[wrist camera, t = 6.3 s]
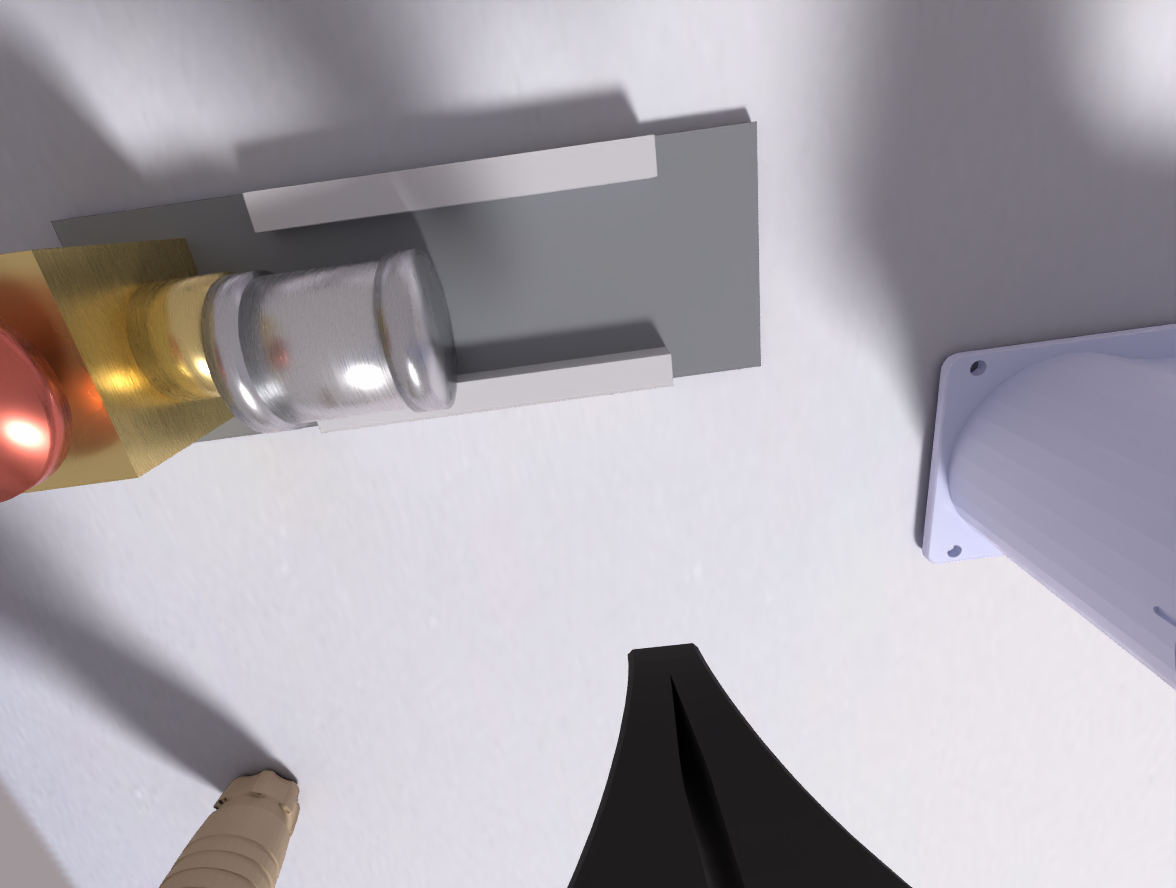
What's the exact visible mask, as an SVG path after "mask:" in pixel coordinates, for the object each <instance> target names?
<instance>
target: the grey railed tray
mask: <svg viewBox="0 0 1176 888" xmlns="http://www.w3.org/2000/svg"><path fill="white" fill-rule="evenodd" d="M51 222H52V224H53V227H54V229H55V231H56V233H57V236H58V238H59V240H60V242H61V244H62V247H75V246H88V245H100V244H113V243H125V242H138V241H150V240H163V239H176V238H185V239H186V241H187V244H188V247H189V249H190V252H191V255H192V258H193V260H194V263H195V266H196V268H197V271H198V274H199V275H205V274H213V273H220V272H228V271H231V272H236V273H242V272H249V271H257V270H266V271H269V272H272V273H274V274H279V273H287V272H294V271H301V270H308V269H316V268H323V267H330V266H337V265H345V264H352V263H359V262H366V261H374V260H380V258H381V257H382V255H383V254H385V253H387V252H394V251H401V250H409V249H416V248H420V249H422V250H423V251H425V253H426V254H427V255H428V256H429V258H430V259H431V261H432V263H433V265H434V267H435V269H436V272H437V274H438V276H439V279H440V282H441V285H442V288H443V291H444V294H445V298H446V301H447V305H448V309H449V313H450V318H451V322H452V328H453V333H454V340H455V347H456V357H457V392H456V398H455V401H454V404H453V406H452V407H451V408H450V409H445V410H438V411H430V412H423V413H416V412H414V411H412V410H411V409H404V410H396V411H389V412H381V413H374V414H366V415H359V416H351V417H344V418H337V419H329V420H322V421H314V422H310V424H308V425H307V426H306V427H313V426H319V429H320V432H321V433H327V432H335V431H342V430H349V429H357V428H364V427H372V426H379V425H386V424H394V423H401V422H409V421H416V420H423V419H431V418H438V417H446V416H453V415H461V414H468V413H475V412H483V411H490V410H498V409H505V408H512V407H520V406H527V405H535V404H542V403H549V402H557V401H564V400H572V399H579V398H587V397H594V396H601V395H609V394H616V393H624V392H631V391H638V390H646V389H653V388H661V387H668V386H673V378H675V377H683V376H690V375H698V374H705V373H712V372H720V371H727V370H735V369H742V368H749V367H757V366H761V354H760V294H759V235H758V176H757V121H756V122H749V123H742V124H735V125H728V126H721V127H713V128H706V129H699V130H692V131H685V132H678V133H671V134H664V135H657V136H654V135H647V136H640V137H633V138H626V139H619V140H612V141H605V142H598V143H590V144H583V145H576V146H569V147H562V148H555V149H548V150H541V151H534V152H527V153H520V154H513V155H506V156H499V157H492V158H485V159H478V160H471V161H463V162H456V163H449V164H442V165H435V166H428V167H421V168H414V169H407V170H400V171H393V172H386V173H379V174H372V175H365V176H358V177H351V178H343V179H336V180H329V181H322V182H315V183H308V184H301V185H294V186H287V187H280V188H273V189H266V190H259V191H252V192H245V193H242V194H241V195H233V196H226V197H219V198H212V199H205V200H198V201H191V202H184V203H177V204H170V205H163V206H156V207H149V208H142V209H135V210H128V211H121V212H113V213H106V214H99V215H92V216H85V217H78V218H71V219H64V220H57V221H51ZM304 428H305V427H304ZM254 434H261V433H260V432H257V431H254V430H252V429H250V428H248V427H247V426H246V425H244V424H243V423H242V422H240V421H239V420H238V419H237V418H236V417H233V418H232V419H230V420H229V421H227V422H225V423H224V424H222V425H221V426H219V427H218V428H216V429H214V430H213V431H211V432H210V433H208V434H206V435H205V436H203V437H202V438H200V439H199V440H197V441H195V442H202V441H209V440H217V439H224V438H231V437H239V436H246V435H254Z"/></svg>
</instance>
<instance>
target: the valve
mask: <svg viewBox="0 0 1176 888" xmlns="http://www.w3.org/2000/svg"><path fill="white" fill-rule="evenodd" d="M235 273H236V272H231V271H228V272H220V273H213V274H205V275H199V274H198V271H197V268H196V266H195V263H194V260H193V258H192V255H191V252H190V249H189V247H188V244H187V241H186V239H185V238H176V239H163V240H150V241H138V242H125V243H113V244H100V245H88V246H75V247H62V248H50V249H37V250H28V251H21V252H13V253H6V254H0V503H1V502H4V501H6V500H9V499H11V498H13V497H15V496H17V495H19V494H21V493H28V492H35V491H43V490H50V489H58V488H65V487H73V486H80V485H88V484H95V483H102V482H110V481H117V480H125V479H132V478H138V477H140V476H142V475H143V474H145V473H146V472H148V471H150V470H151V469H153V468H154V467H156V466H157V465H159V464H161V463H162V462H164V461H165V460H167V459H169V458H170V457H172V456H173V455H175V454H176V453H178V452H180V451H181V450H183V449H184V448H186V447H187V446H189V445H191V444H192V443H194V442H195V441H197V440H199V439H200V438H202V437H203V436H205V435H206V434H208V433H210V432H211V431H213V430H214V429H216V428H218V427H219V426H221V425H222V424H224V423H225V422H227V421H229V420H230V419H232V418H233V417H235V416H234V415H233V413H232V412H231V411H230V410H229V409H228V407H227V406H226V404H225V403H224V401H223V400H222V398H221V396H220V395H219V393H218V391H217V389H216V387H215V385H214V383H213V380H212V378H211V375H210V372H209V370H208V366H207V363H206V359H205V355H204V350H203V345H202V337H201V313H202V307H203V302H204V299H205V296H206V293H207V291H208V290H209V288H210V286H211V285H212V284H213V282H214V281H215V280H217V279H218V278H219V277H221V276H224V275H228V274H235Z"/></svg>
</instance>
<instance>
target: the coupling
mask: <svg viewBox="0 0 1176 888" xmlns="http://www.w3.org/2000/svg"><path fill="white" fill-rule="evenodd" d="M201 337H202V345H203V350H204V355H205V359H206V363H207V366H208V370H209V372H210V375H211V378H212V380H213V383H214V385H215V387H216V389H217V391H218V393H219V395H220V396H221V398H222V400H223V401H224V403H225V404H226V406H227V407H228V409H229V410H230V411H231V412H232V413H233V415H234V416H235V417H236V418H237V419H238V420H239V421H240V422H242V423H243V424H244V425H246V426H247V427H248V428H250V429H252V430H254V431H257V432H260V433H273V432H281V431H288V430H296V429H301V428H304V427H306V426H307V425H308V424H310V422H314V421H322V420H329V419H337V418H344V417H351V416H359V415H366V414H374V413H381V412H389V411H396V410H404V409H411V410H412V411H414V412H416V413H423V412H430V411H438V410H445V409H450V408H451V407H452V406H453V404H454V401H455V398H456V392H457V357H456V347H455V340H454V333H453V328H452V322H451V318H450V313H449V309H448V305H447V301H446V298H445V294H444V291H443V288H442V285H441V282H440V279H439V276H438V274H437V272H436V269H435V267H434V265H433V263H432V261H431V259H430V258H429V256H428V255H427V254H426V253H425V251H423V250H422V249H420V248H416V249H409V250H401V251H394V252H387V253H385V254H383V255H382V257H381V258H380V260H374V261H366V262H359V263H352V264H345V265H337V266H330V267H323V268H316V269H308V270H301V271H294V272H287V273H279V274H274V273H272V272H269V271H266V270H257V271H249V272H242V273H235V274H228V275H224V276H221V277H219V278H218V279H217V280H215V281H214V282H213V284H212V285H211V286H210V288H209V290H208V291H207V293H206V296H205V299H204V302H203V307H202V313H201Z"/></svg>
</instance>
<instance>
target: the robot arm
mask: <svg viewBox="0 0 1176 888" xmlns="http://www.w3.org/2000/svg"><path fill="white" fill-rule="evenodd" d="M976 361H978V367H977V369H976V370H975V371H974V372H971V373H970V368H971V366H972V364H973V363H974V362H976ZM952 546H954V548H953V549H952V550H951V551H948V550H949V548H951V547H952ZM922 552H923V555H924V556H925V557H926V558H927V559H928V560H929V561H930V562H932V563H934V564H941V563H949V562H957V561H964V560H972V559H980V558H988V557H995V556H1003V555H1005V556H1007V557H1008V558H1009V559H1010V560H1012V561H1013V562H1014V563H1016V564H1017V565H1018V566H1019V567H1021V568H1022V569H1023V570H1024V571H1026V572H1027V573H1028V574H1029V575H1031V576H1032V577H1033V578H1035V579H1036V580H1037V581H1038V582H1040V583H1041V584H1042V585H1043V586H1045V587H1046V588H1047V589H1048V590H1050V591H1051V592H1052V593H1053V594H1055V595H1056V596H1057V597H1059V598H1060V599H1061V600H1062V601H1064V602H1065V603H1066V604H1067V605H1069V606H1070V607H1071V608H1072V609H1074V610H1075V611H1076V612H1078V613H1079V614H1080V615H1081V616H1083V617H1084V618H1085V619H1086V620H1088V621H1089V622H1090V623H1091V624H1093V625H1094V626H1095V627H1096V628H1098V629H1099V630H1100V631H1102V632H1103V633H1104V634H1105V635H1107V636H1108V637H1109V638H1110V639H1112V640H1113V641H1114V642H1115V643H1117V644H1118V645H1119V646H1120V647H1122V648H1123V649H1124V650H1126V651H1127V652H1128V653H1129V654H1131V655H1132V656H1133V657H1134V658H1136V659H1137V660H1138V661H1139V662H1141V663H1142V664H1143V665H1145V666H1146V667H1147V668H1148V669H1150V670H1151V671H1152V672H1153V673H1155V674H1156V675H1157V676H1158V677H1160V678H1161V679H1162V680H1163V681H1165V682H1166V683H1167V684H1169V685H1170V686H1171V687H1172V688H1174V689H1175V690H1176V324H1168V325H1161V326H1153V327H1146V328H1138V329H1131V330H1124V331H1116V332H1109V333H1101V334H1094V335H1086V336H1079V337H1072V338H1064V339H1057V340H1049V341H1042V342H1035V343H1027V344H1020V345H1012V346H1005V347H997V348H990V349H983V350H975V351H968V352H960V353H956V354H953V355H951V356H949V357H948V358H947V359H946V360H945V361H944V363H943V365H942V368H941V374H940V384H939V393H938V403H937V413H936V422H935V432H934V441H933V451H932V461H931V470H930V480H929V489H928V499H927V508H926V518H925V528H924V537H923V547H922ZM628 663H629V670H628V687H627V695H626V702H625V708H624V713H623V718H622V724H621V729H620V734H619V738H618V743H617V747H616V750H615V754H614V758H613V762H612V765H611V769H610V773H609V777H608V780H607V783H606V787H605V790H604V793H603V796H602V799H601V802H600V805H599V808H598V811H597V814H596V817H595V820H594V823H593V825H592V828H591V831H590V834H589V836H588V839H587V841H586V844H585V846H584V849H583V851H582V854H581V856H580V859H579V861H578V864H577V866H576V869H575V871H574V874H573V876H572V878H571V881H570V883H569V885H568V887H567V888H912V887H911V886H909V885H908V884H907V883H906V882H905V881H903V880H902V879H901V878H900V877H899V876H898V875H897V874H895V873H894V872H893V871H892V870H891V869H890V868H889V867H887V866H886V865H885V864H884V863H883V862H882V861H881V860H879V859H878V858H877V857H876V856H875V855H874V854H873V853H871V852H870V851H869V850H868V849H867V848H866V847H865V846H863V845H862V844H861V843H860V842H859V841H858V840H857V839H855V838H854V837H853V836H852V835H851V834H850V833H849V832H848V831H847V830H846V829H845V828H844V827H843V826H842V825H841V824H840V823H839V822H838V821H836V820H835V819H834V818H833V817H832V816H831V815H830V814H829V813H828V812H827V811H826V810H825V809H824V808H823V807H822V806H821V805H820V804H819V803H818V802H817V801H816V800H815V799H814V798H813V797H812V796H811V795H810V794H809V793H808V792H807V791H806V789H805V788H804V787H803V786H802V785H801V784H800V783H799V782H798V781H797V780H796V779H795V778H794V777H793V775H792V774H791V773H790V772H789V771H788V770H787V769H786V768H785V767H784V765H783V764H782V763H781V762H780V761H779V760H778V758H777V757H776V756H775V755H774V754H773V753H772V751H771V750H770V749H769V748H768V747H767V746H766V744H765V743H764V742H763V741H762V740H761V738H760V737H759V736H758V735H757V733H756V732H755V731H754V730H753V728H752V727H751V726H750V724H749V723H748V722H747V720H746V719H745V718H744V717H743V715H742V714H741V713H740V711H739V710H738V709H737V707H736V706H735V705H734V703H733V702H732V701H731V699H730V698H729V696H728V695H727V694H726V692H725V691H724V689H723V688H722V686H721V685H720V683H719V682H718V680H717V679H716V677H715V676H714V674H713V673H712V671H711V670H710V668H709V666H708V665H707V663H706V661H705V660H704V658H703V656H702V654H701V652H700V651H699V649H698V647H697V646H695V645H694V644H693V643H689V644H680V645H671V646H661V647H652V648H643V649H634V650H632V651H631V652H630V653H629V654H628Z"/></svg>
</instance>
